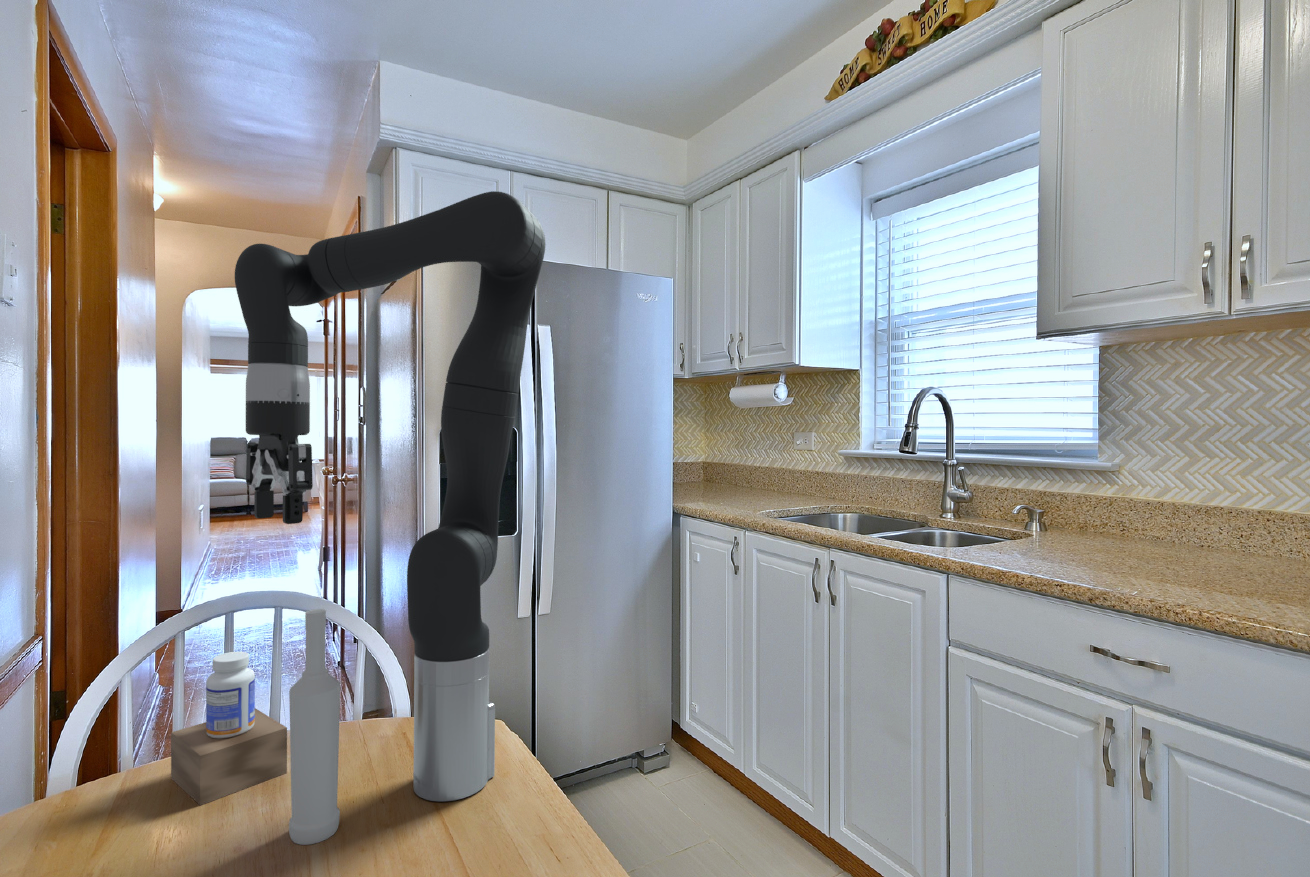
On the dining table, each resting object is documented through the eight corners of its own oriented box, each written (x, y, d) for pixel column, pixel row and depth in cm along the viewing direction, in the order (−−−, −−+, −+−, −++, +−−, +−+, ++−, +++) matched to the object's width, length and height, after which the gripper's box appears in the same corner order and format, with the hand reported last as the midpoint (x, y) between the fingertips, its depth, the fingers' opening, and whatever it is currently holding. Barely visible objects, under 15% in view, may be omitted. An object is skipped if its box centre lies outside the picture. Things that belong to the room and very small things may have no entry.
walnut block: (254, 750, 96) (254, 707, 96) (286, 772, 90) (287, 727, 89) (171, 778, 88) (171, 732, 88) (200, 805, 82) (200, 755, 82)
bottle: (319, 848, 74) (320, 619, 73) (277, 842, 75) (278, 615, 74) (349, 821, 79) (350, 606, 78) (310, 816, 80) (311, 604, 79)
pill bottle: (234, 718, 92) (234, 647, 92) (264, 725, 90) (264, 652, 90) (195, 735, 87) (195, 659, 87) (226, 742, 85) (226, 665, 85)
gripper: (332, 399, 89) (331, 522, 90) (283, 401, 98) (283, 513, 98) (272, 397, 83) (271, 528, 84) (225, 399, 92) (225, 518, 92)
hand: (277, 520), depth 91 cm, fingers open, 8 cm apart
